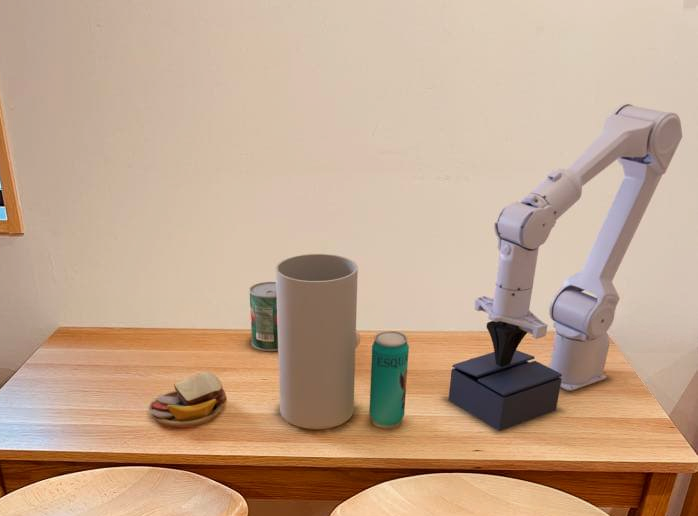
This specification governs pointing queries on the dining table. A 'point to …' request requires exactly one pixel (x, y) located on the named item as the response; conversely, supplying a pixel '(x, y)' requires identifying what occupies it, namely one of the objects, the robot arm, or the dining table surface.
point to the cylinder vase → (316, 339)
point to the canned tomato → (264, 316)
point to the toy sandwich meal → (189, 401)
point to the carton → (507, 393)
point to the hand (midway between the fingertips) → (502, 363)
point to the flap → (489, 363)
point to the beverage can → (388, 379)
